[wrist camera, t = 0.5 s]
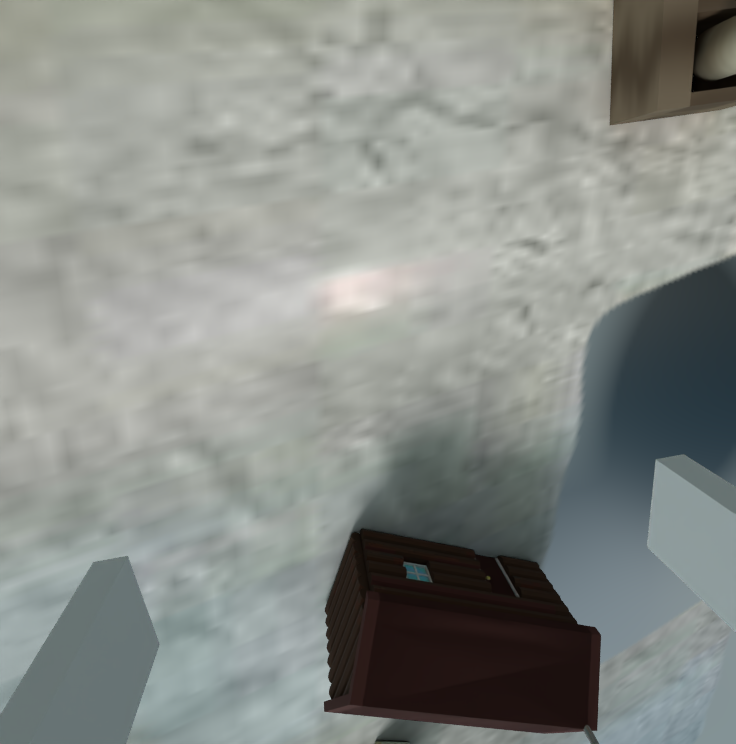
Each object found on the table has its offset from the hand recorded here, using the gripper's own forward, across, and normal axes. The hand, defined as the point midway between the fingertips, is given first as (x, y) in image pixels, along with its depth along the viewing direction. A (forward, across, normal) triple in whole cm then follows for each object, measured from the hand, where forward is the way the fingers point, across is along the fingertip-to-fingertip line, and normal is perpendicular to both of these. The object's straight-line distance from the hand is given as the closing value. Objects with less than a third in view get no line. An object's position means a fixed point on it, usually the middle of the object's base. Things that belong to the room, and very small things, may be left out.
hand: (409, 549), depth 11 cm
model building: (+27, +6, -28) cm, 40 cm away
